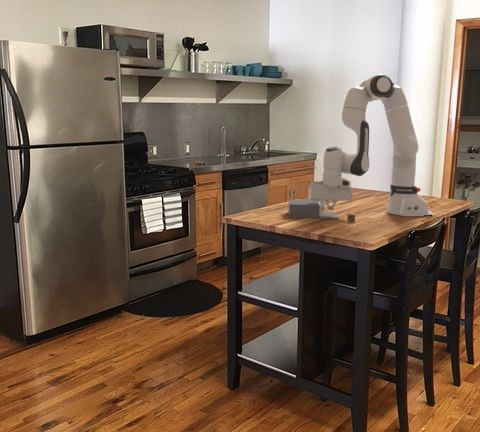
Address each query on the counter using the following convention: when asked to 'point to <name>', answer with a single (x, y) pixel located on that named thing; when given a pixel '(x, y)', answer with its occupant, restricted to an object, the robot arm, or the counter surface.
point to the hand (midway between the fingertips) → (330, 209)
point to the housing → (308, 210)
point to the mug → (318, 200)
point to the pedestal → (351, 217)
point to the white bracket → (320, 209)
